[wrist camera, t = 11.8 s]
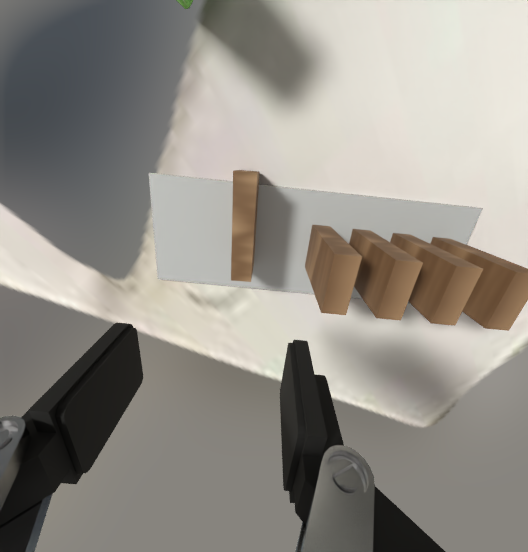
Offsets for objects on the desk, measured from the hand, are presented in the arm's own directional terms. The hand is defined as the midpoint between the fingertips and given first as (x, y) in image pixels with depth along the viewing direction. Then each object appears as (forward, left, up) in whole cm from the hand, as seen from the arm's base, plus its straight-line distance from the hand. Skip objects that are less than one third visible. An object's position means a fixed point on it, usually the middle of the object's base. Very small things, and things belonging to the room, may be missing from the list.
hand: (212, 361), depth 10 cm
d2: (-17, 0, -19) cm, 25 cm away
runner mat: (-7, 0, -19) cm, 20 cm away
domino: (0, -7, -16) cm, 18 cm away
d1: (-21, 0, -19) cm, 29 cm away
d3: (-12, 0, -19) cm, 23 cm away
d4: (-8, 0, -19) cm, 21 cm away
